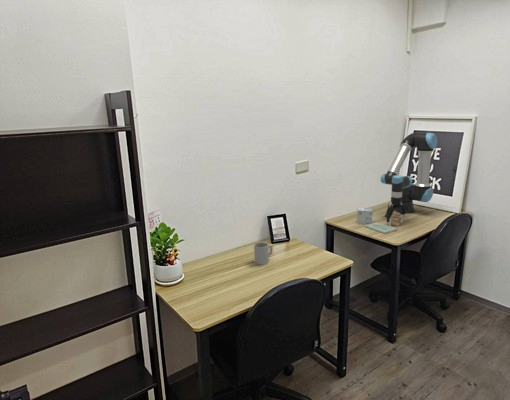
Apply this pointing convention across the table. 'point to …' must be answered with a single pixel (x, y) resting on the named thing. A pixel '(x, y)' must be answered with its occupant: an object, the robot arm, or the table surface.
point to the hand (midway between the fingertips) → (394, 224)
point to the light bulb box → (364, 215)
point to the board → (380, 228)
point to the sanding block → (396, 220)
